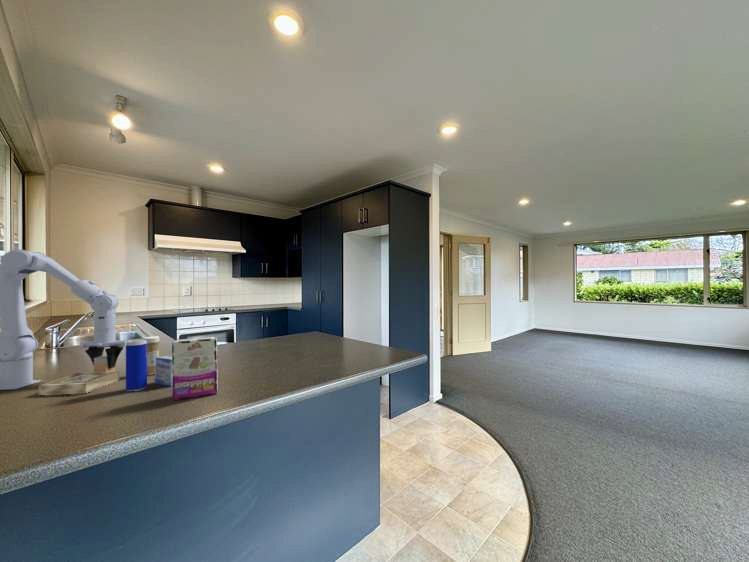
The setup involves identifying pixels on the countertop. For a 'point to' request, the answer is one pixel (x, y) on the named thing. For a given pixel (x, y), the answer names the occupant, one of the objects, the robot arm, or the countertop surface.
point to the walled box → (77, 384)
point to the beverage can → (136, 365)
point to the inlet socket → (81, 379)
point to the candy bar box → (194, 367)
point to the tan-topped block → (102, 364)
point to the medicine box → (164, 370)
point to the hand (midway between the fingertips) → (104, 367)
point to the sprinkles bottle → (152, 353)
